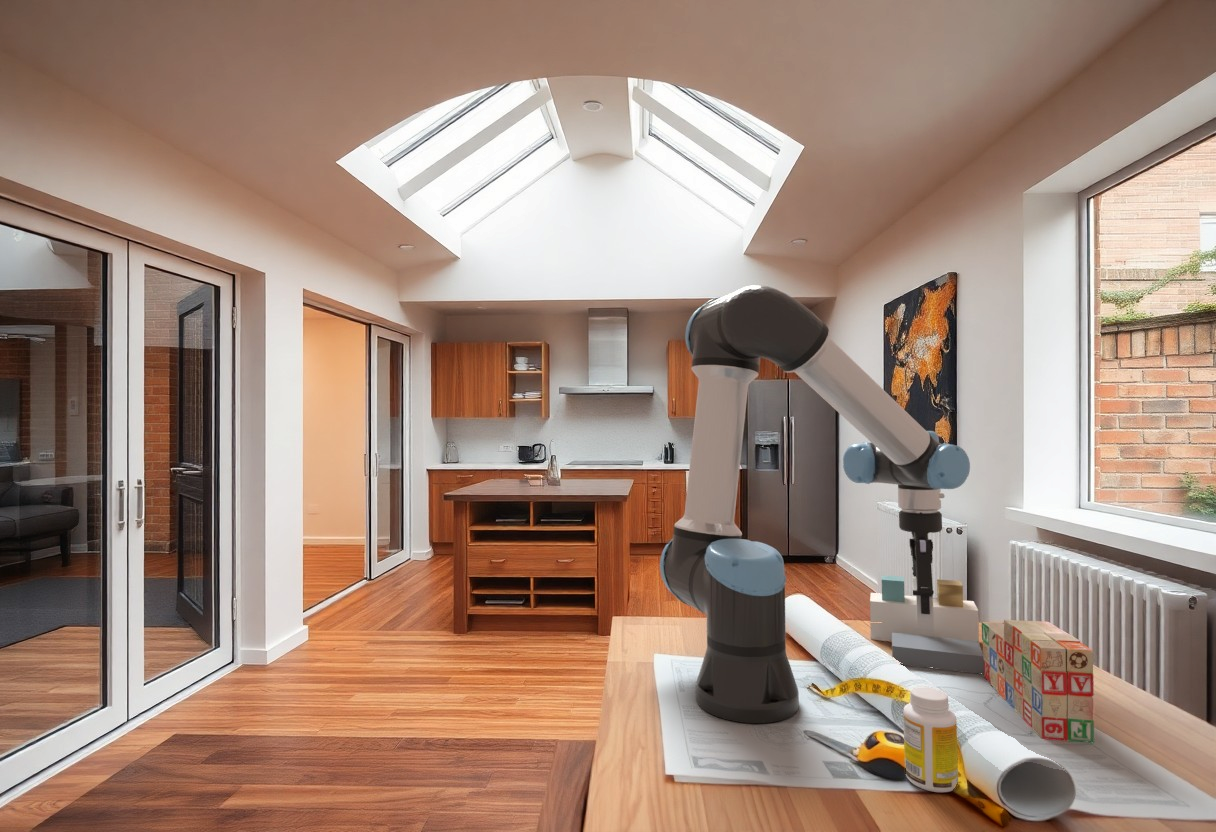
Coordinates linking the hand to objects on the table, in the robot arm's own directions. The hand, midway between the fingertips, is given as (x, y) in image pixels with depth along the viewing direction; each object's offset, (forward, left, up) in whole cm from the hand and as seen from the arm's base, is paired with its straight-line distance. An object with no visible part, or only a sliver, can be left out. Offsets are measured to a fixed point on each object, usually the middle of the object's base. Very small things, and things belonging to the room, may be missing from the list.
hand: (923, 620), depth 125 cm
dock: (+1, -12, -4) cm, 13 cm away
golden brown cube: (+5, 0, +4) cm, 6 cm away
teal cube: (-5, 0, +4) cm, 6 cm away
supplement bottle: (-2, -55, -4) cm, 55 cm away
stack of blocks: (+13, -27, -4) cm, 30 cm away
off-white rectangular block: (0, 0, -4) cm, 4 cm away
